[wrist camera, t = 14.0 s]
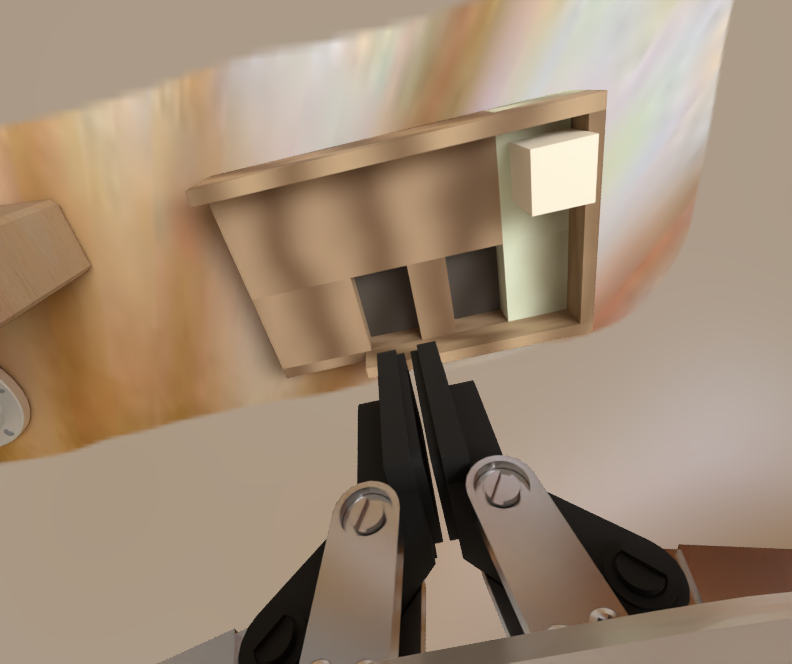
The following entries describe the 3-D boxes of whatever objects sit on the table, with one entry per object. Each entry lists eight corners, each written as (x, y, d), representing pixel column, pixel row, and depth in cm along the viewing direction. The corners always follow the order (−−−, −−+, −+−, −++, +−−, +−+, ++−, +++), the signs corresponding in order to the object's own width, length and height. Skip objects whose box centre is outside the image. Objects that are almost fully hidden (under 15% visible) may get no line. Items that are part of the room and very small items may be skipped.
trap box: (291, 361, 38) (281, 396, 34) (211, 176, 29) (184, 191, 25) (565, 303, 36) (592, 331, 32) (569, 90, 28) (607, 90, 23)
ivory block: (512, 201, 29) (532, 216, 25) (509, 141, 27) (530, 149, 23) (567, 188, 29) (595, 202, 25) (569, 127, 27) (599, 133, 23)
